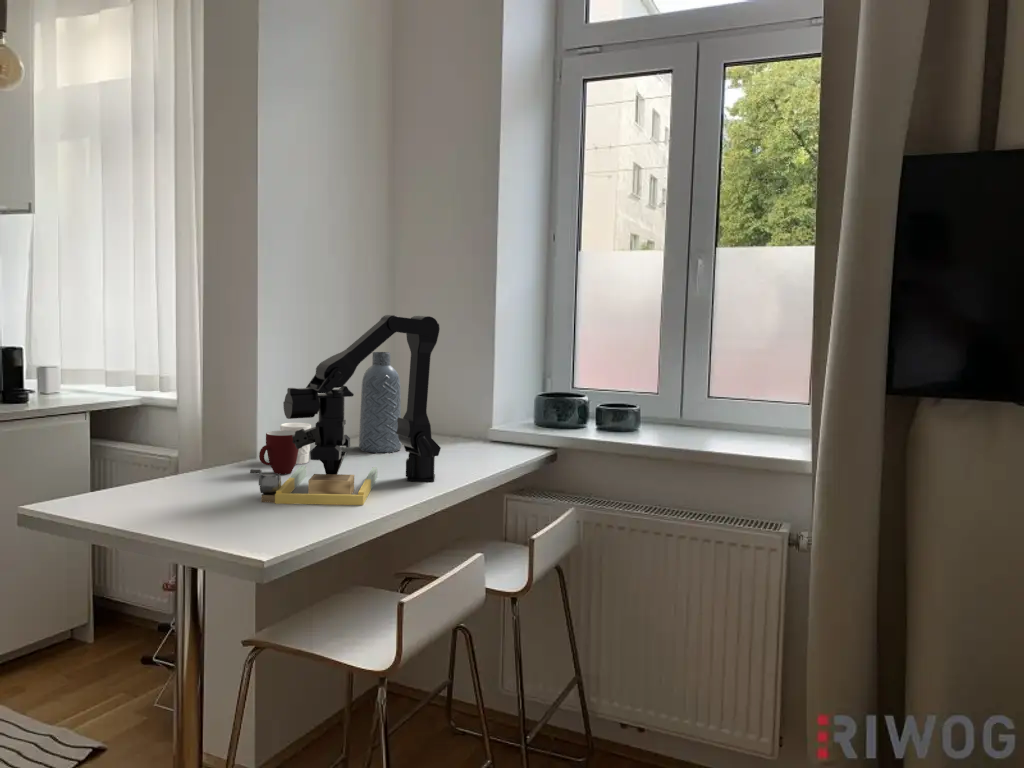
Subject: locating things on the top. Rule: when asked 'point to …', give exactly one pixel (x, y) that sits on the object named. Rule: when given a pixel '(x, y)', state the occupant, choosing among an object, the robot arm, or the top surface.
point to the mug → (280, 451)
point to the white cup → (304, 451)
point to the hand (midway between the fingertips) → (330, 484)
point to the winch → (268, 485)
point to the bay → (287, 497)
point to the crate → (331, 484)
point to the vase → (380, 406)
